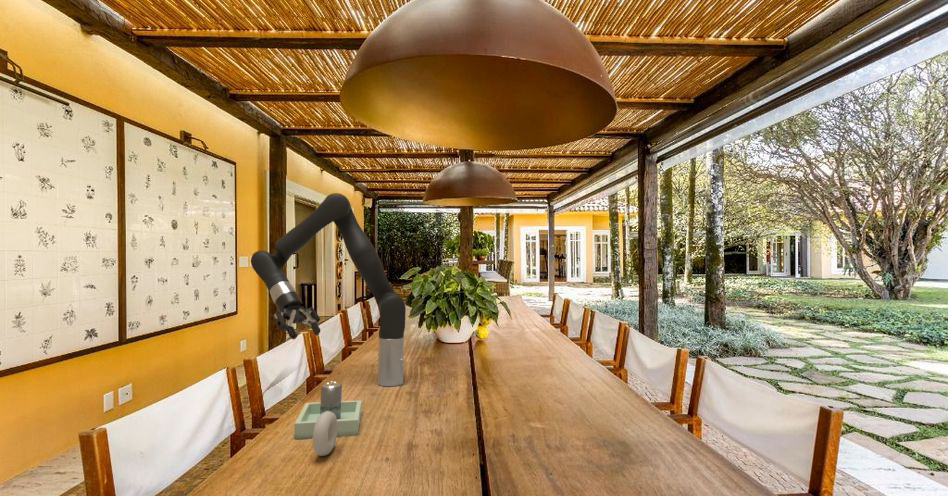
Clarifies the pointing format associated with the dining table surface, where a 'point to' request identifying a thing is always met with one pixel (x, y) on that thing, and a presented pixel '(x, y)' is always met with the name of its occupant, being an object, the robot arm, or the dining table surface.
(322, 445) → the donut
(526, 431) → the dining table surface
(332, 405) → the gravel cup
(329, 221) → the robot arm
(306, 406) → the pale green shallow tray
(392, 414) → the dining table surface
